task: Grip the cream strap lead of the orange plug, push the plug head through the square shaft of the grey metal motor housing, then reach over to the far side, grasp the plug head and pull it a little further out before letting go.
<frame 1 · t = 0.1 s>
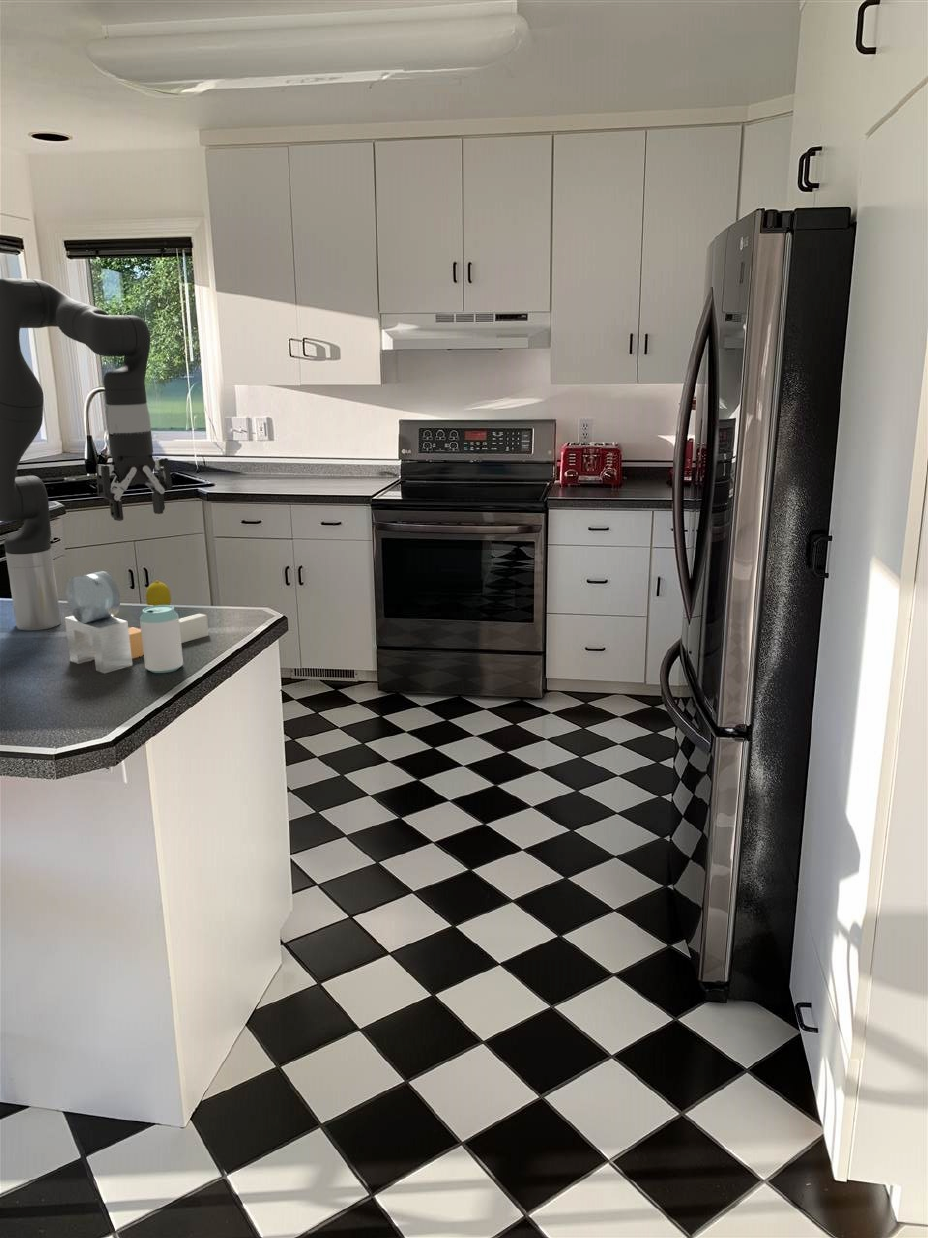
hand: (138, 516, 182), 29 cm above the countertop, tool pointing down, fingers open, 8 cm apart
can: (164, 669, 187), on the countertop
lemon: (160, 614, 225), on the countertop
motor housing: (101, 663, 191), on the countertop
plug: (132, 654, 196), on the countertop
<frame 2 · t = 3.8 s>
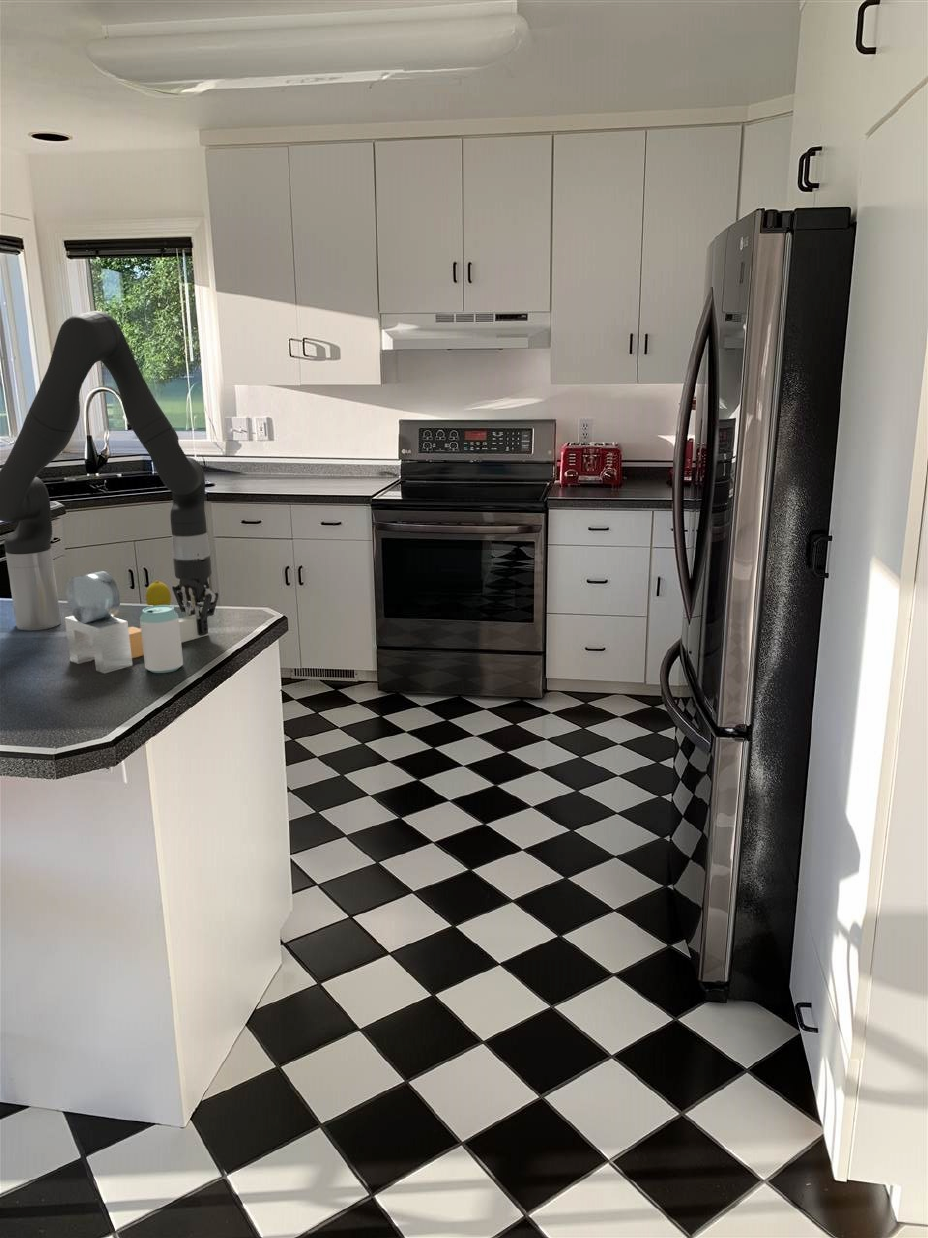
hand: (198, 633, 207), 1 cm above the countertop, tool pointing down, fingers closed on plug, 2 cm apart
plug: (132, 654, 196), on the countertop, touching gripper
everything else where it was.
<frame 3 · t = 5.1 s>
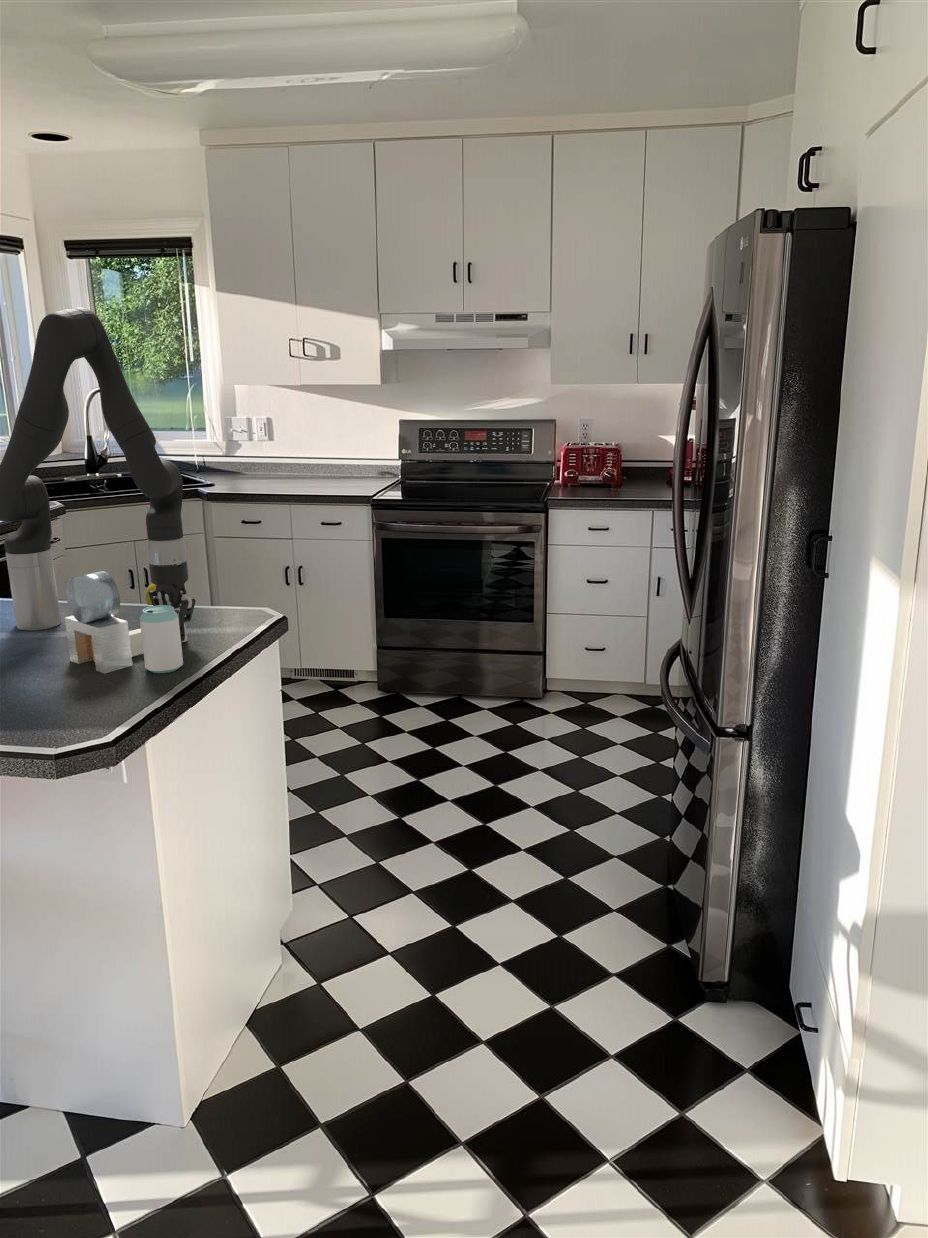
hand: (175, 639, 203), 1 cm above the countertop, tool pointing down, fingers closed on plug, 2 cm apart
plug: (109, 661, 192), on the countertop, touching gripper
everything else where it was.
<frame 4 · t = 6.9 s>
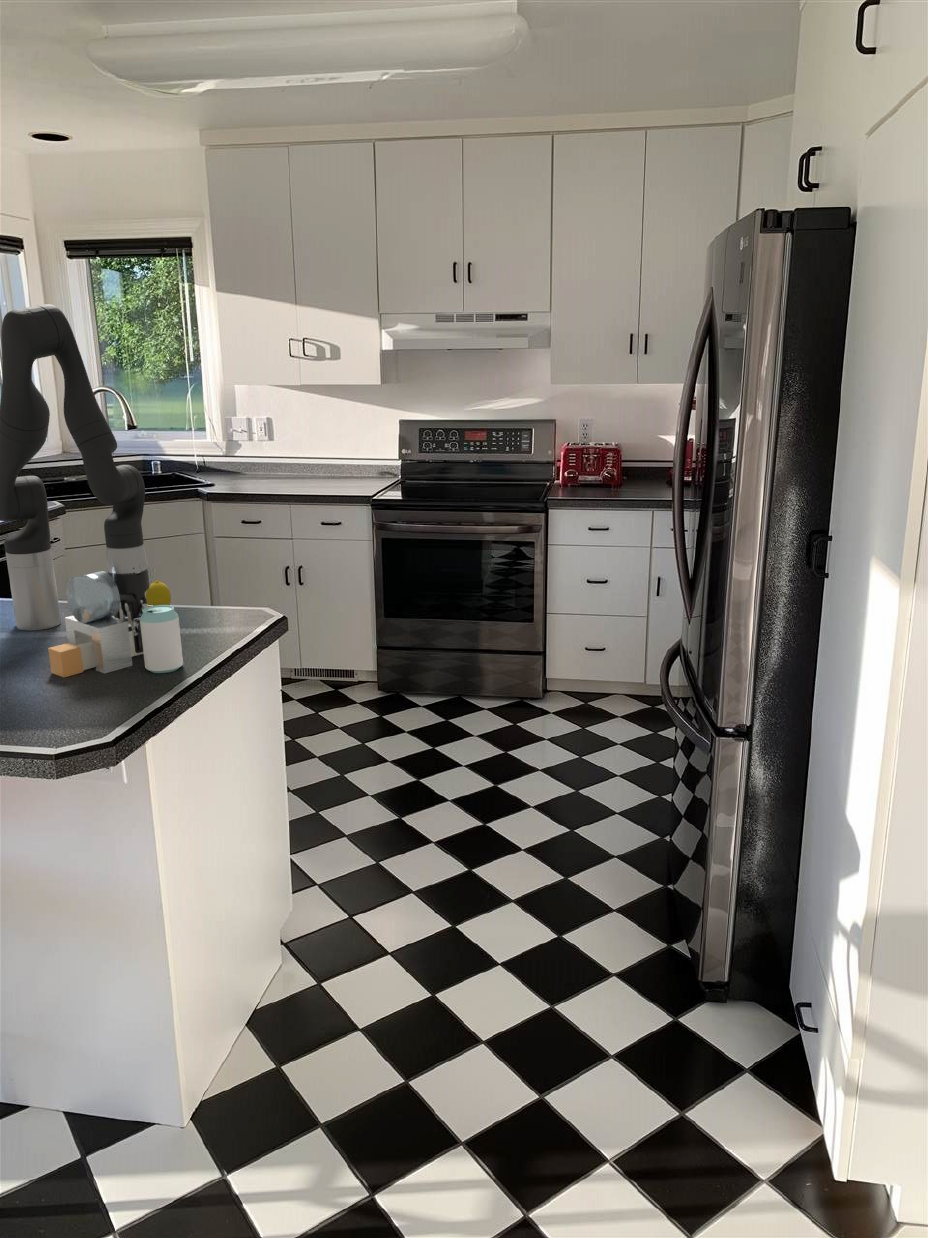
hand: (137, 650, 196), 1 cm above the countertop, tool pointing down, fingers closed on plug, 2 cm apart
plug: (67, 672, 185), on the countertop, touching gripper
everything else where it was.
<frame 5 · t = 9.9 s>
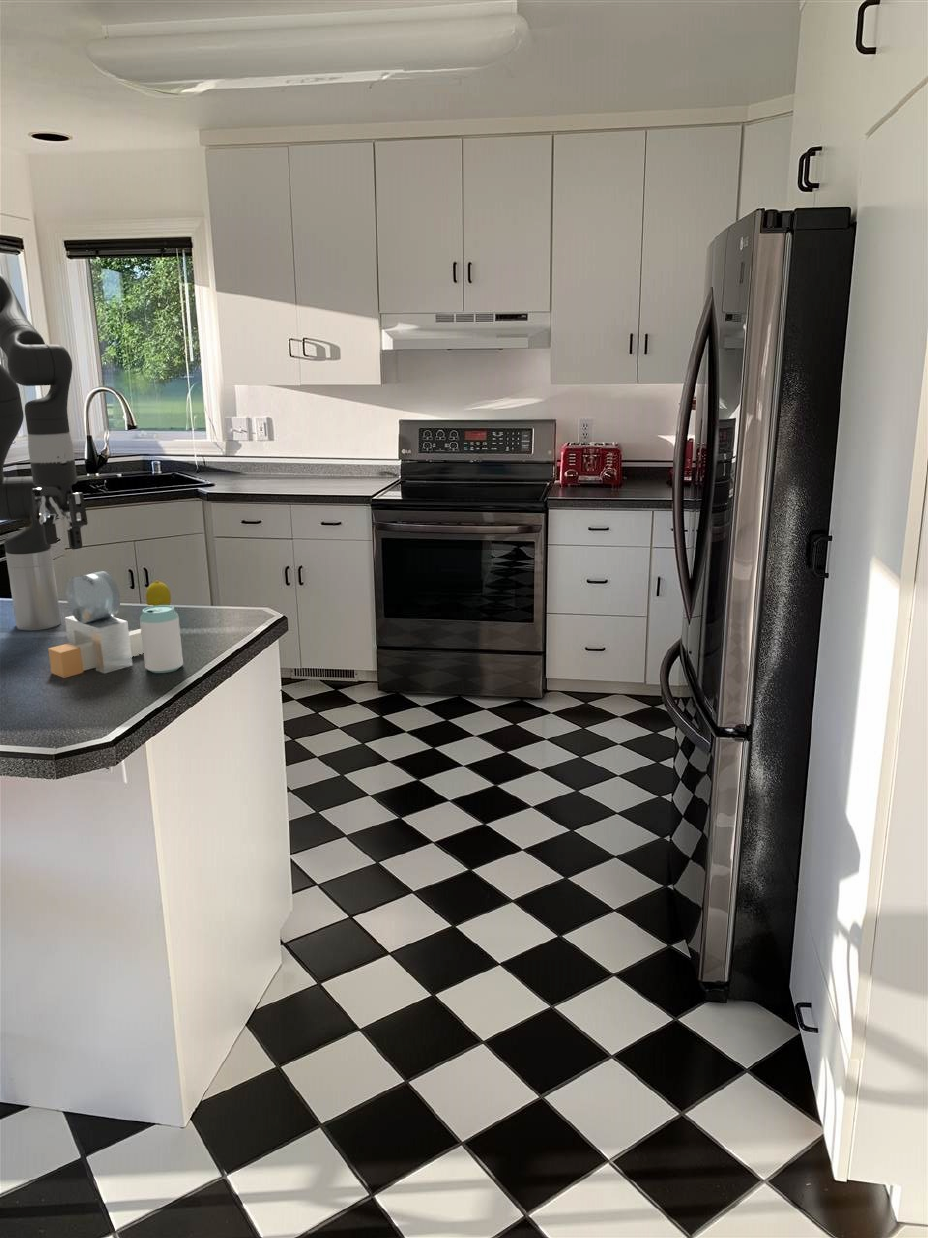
hand: (63, 546, 180), 24 cm above the countertop, tool pointing down, fingers open, 8 cm apart
plug: (67, 672, 185), on the countertop
everything else where it was.
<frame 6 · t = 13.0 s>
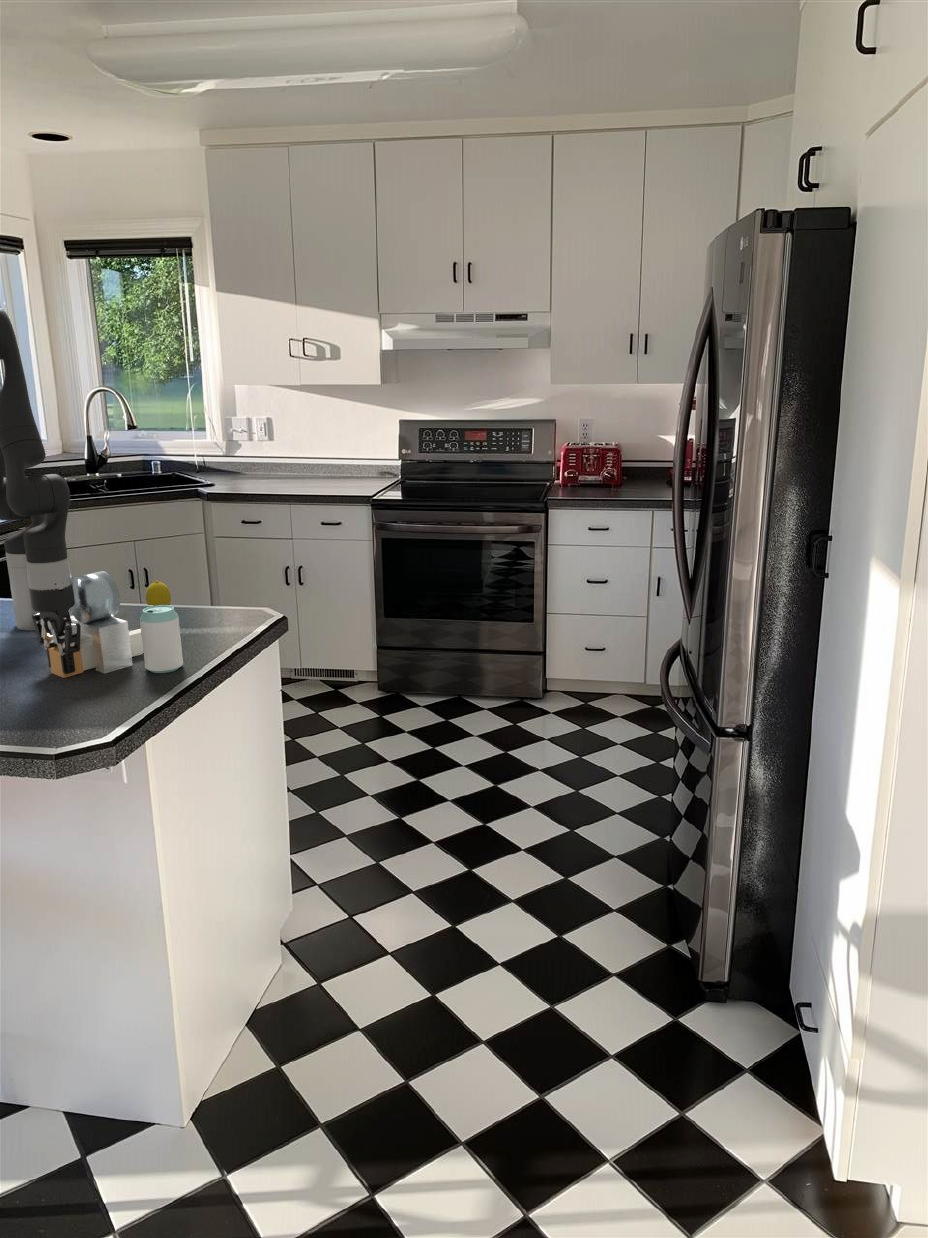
hand: (62, 669, 184), 1 cm above the countertop, tool pointing down, fingers closed on plug, 4 cm apart
plug: (67, 672, 185), on the countertop, touching gripper
everything else where it was.
when the fingers open (1 cm above the countertop, at t = 14.9 s): plug stays where it is, on the countertop.
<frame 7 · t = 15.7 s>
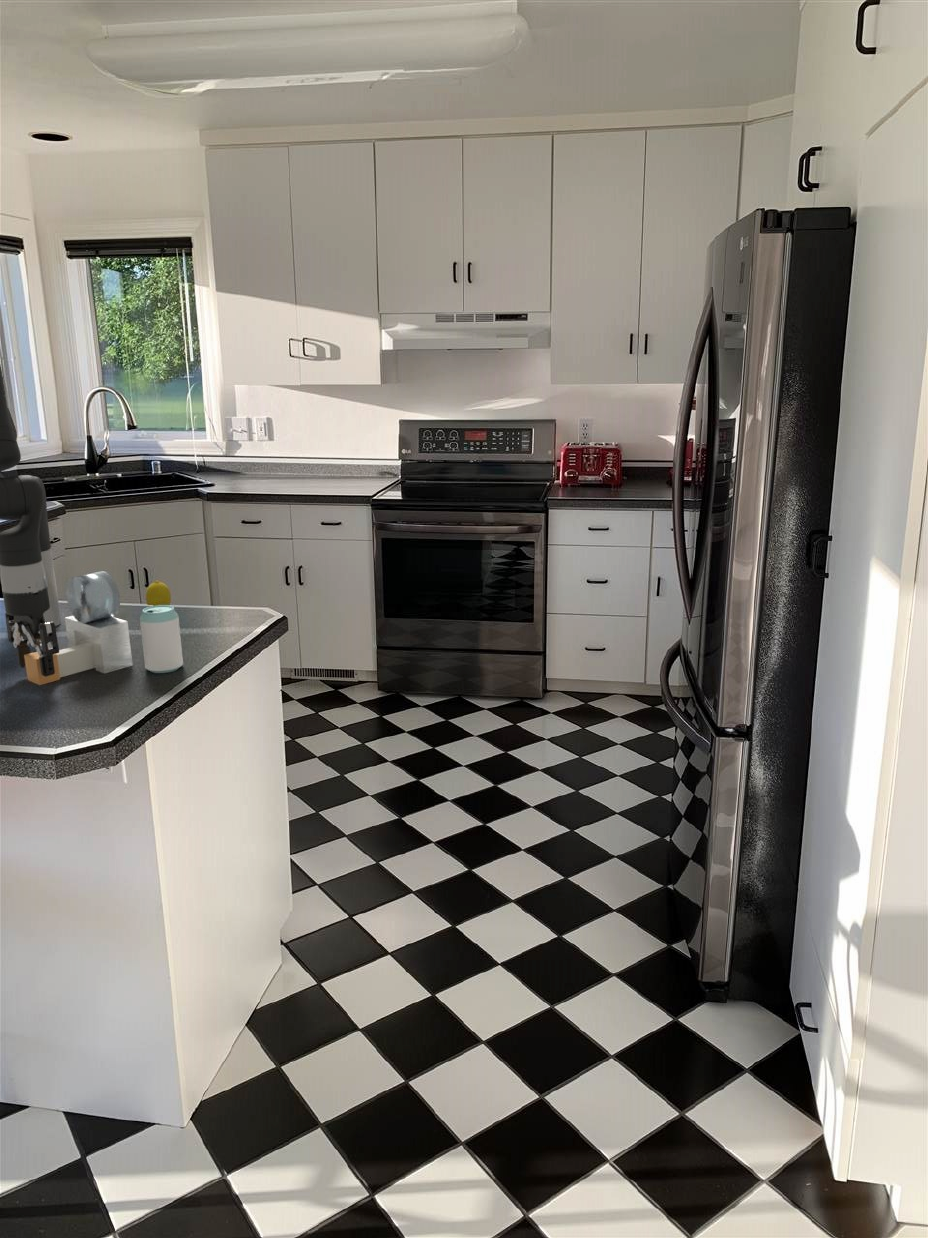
hand: (36, 670, 181), 2 cm above the countertop, tool pointing down, fingers open, 8 cm apart
plug: (44, 679, 182), on the countertop
everything else where it was.
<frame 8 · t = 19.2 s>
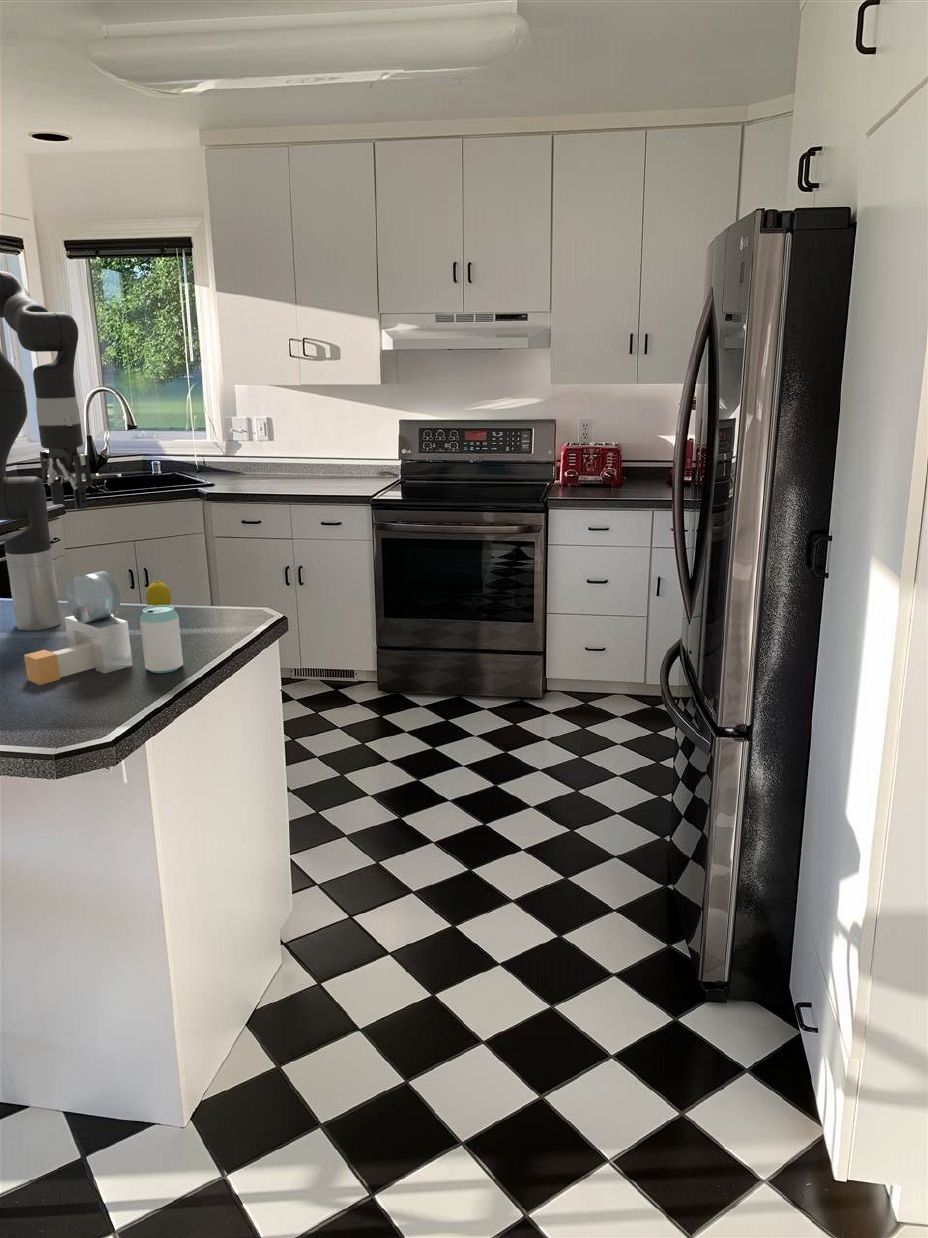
hand: (70, 506, 189), 30 cm above the countertop, tool pointing down, fingers open, 8 cm apart
nothing on the countertop moved.
at the end: plug 1.4 cm from the target spot, on the countertop; the gripper is holding nothing; plug tilted 0° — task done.
